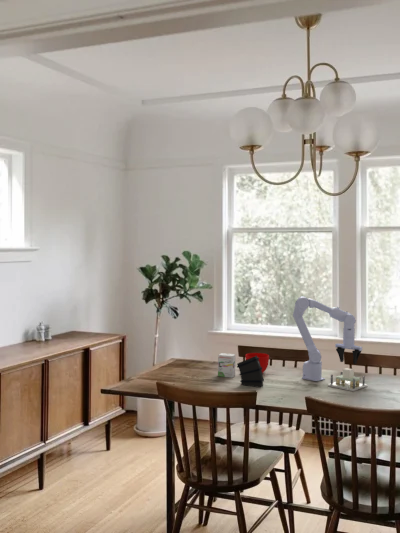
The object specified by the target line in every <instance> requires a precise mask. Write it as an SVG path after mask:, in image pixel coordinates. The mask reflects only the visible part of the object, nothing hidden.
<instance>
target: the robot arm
mask: <svg viewBox="0 0 400 533" xmlns="http://www.w3.org/2000/svg"><path fill="white" fill-rule="evenodd" d="M293 308H294V309H293V312H292V318H293V319H294V322H295V324H296V326H297V329H298V331H299V334H300V335H301V337H302V340H303V342H304V344H305V348H306V349H307V352H308V360H307V361H304V362H303V365H302V377H301V379H304V380H306V381H307V380H308V381H314V382H319V381H322V380H325V379H326V378H325V377H323V376H322V375H323V374H322V373H323V372H322V370H323V368H322V366H323V362H322V355H321V354H322V353H321V351H320V350H319V349H318V348H317V346H316V345H315V342H314V340H313V337H312V335H311V333H310V331H309V328H308V326H307V324H306V321H305V320H304V317H303V315H304V313H305V311H306V310H307V309H308V308H309V309H313V308H315V309H317V310H320V311H323V312H324V313H327V314H329V317H330V318H332V319H334V320H337V321H339V322H342V323H343V328H342V329H343V330H342V332H343V334H342V343H334V344H335V345H334V346H335V351H336V352H337V355H338V357H339V362H340V363H343V362H344V360H345V352H346V351H345V350H346V349H347V350H352V357H353V359H352V364H353V365H356V364H358V359H359V356H360V355H361V353H362V351H363V346H358V345H356V344H355V338H356V337H355V333H356V332H355V331H356V330H355V329H356V328H355V324H356V321H357V320H356V317H355V315H353V314H352V313H351V312H348V311H345V310H343V309H340V307H338V306H336V307H335V306H333V307H330V306H328V305H326V304H324V303H322V302H320V301H318V300H316V299H313V298H311V297H306V296H305V295H304V296H303V295H301V296H299V297H297V299H296V301H295V303H294V307H293Z"/></svg>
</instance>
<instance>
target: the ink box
mask: <svg viewBox="0 0 400 533" xmlns="http://www.w3.org/2000/svg"><path fill="white" fill-rule="evenodd" d="M217 357H218V358H217V376H218V377H224V378H230V379H231V378H232V379H233V378H234V377H235V376H236V354H234V353H225V352H221V353H219V354H218V355H217Z"/></svg>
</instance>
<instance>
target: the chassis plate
mask: <svg viewBox="0 0 400 533" xmlns="http://www.w3.org/2000/svg"><path fill="white" fill-rule="evenodd" d="M340 375H343V371H340ZM333 376H334V375H333V374H330V383H328V384H327V387H330V388H336V389H340V390H345V391H350V392H355V391H358V390H361V389H363V388H366V387H367V388H368V384H366V383H365V379H366V378H365V377H366V376H365V375H362V383H361V382H360V381H361V380H358V381H355V379H353V382H351V381H346V380H340V379H336V378H335V381H334V377H333Z"/></svg>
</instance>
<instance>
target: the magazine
mask: <svg viewBox="0 0 400 533" xmlns="http://www.w3.org/2000/svg"><path fill="white" fill-rule="evenodd" d="M258 359H259V357H257V356H255V357H252V358H250V359H247V360H246V359H245V360H243V361H240V362H238V363H237V364H236V365H237V366H236V368H237V369H238V370H239V372H240V373H239V376H240V381H239V382H240V383H241V386H248V387H253V388H254V387H255V388H263V386H264V382H265V379H264V377H263V374H264V373H263V374H262V367H261V365H260V362H259V360H258Z"/></svg>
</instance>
